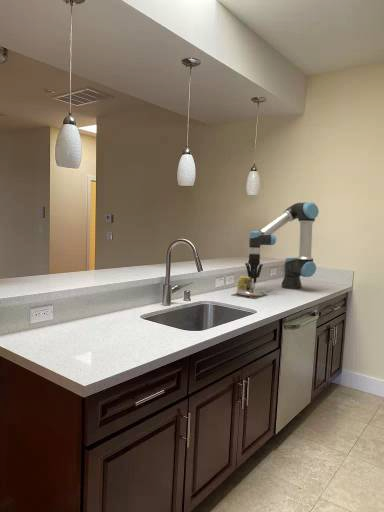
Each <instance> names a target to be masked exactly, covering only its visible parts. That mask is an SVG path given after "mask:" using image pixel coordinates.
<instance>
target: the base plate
mask: <svg viewBox="0 0 384 512" xmlns="http://www.w3.org/2000/svg"><path fill="white" fill-rule="evenodd" d="M268 295H269V294H268V293H267V294H266V293H263V296H257V297H251V296H242V295H238V294H237V292H236V293H233V294H231V296H234V297H240V298H246V299H250V300H257V299H260V298H263V297H267V296H268Z"/></svg>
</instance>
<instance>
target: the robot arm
mask: <svg viewBox="0 0 384 512" xmlns="http://www.w3.org/2000/svg"><path fill="white" fill-rule="evenodd" d="M318 215H319V208H318V206H317V204H316V203H315V202H309V201H306V202H297V203H293V204H292V205H290V206H288V207H287V208H286V209H284V210H283V212H282V214H280V215H279V216H278V217H276V218H275V219H273V220H272V221H270V222H269V223H268V224H266V225H265V226H263V228H261V229H259V230H258V231H257V230H253V231H250V232H249V237H248V239H249V240H248V241H249V245H248V247H249V248H248V253H249V254H248V260H247V261H248V262H246V263H245V264H244V265H245V267H246V272H247V276H248V277H250V278H251V283H252V288H254V289H256V288H255V287H256V283H257V279H258V278H260V277H261V276H260V275H261V271H262V268H263V266H264V264H262V263H261V246H274V245H275V244H276V243H277V237H276V235H275V234H274V233H276V232H277V231H279V229H280V228H281V229H282V227H284V226H285V225H286V224H287V223H289V222H293V221H294V220H297V221H298V223H299V225H300V226H299V244H298V245H299V247H298V250H299V251H298V256H297V257H286V258H285V260H284V261H285V262H284V272H283V273H284V275H283V280H282V282H281V288H284V289H289V290H300V289H302V287H303V284H302V282H301V277H303V278H310V277H313V275H314V274H315V273H316V272H317V265H316V264H315V262H314V258H313V257H312V247H313V246H312V245H313V243H312V242H313V241H312V240H313V224H314V223H315V221H316V219H317V217H318Z"/></svg>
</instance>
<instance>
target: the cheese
mask: <svg viewBox="0 0 384 512" xmlns="http://www.w3.org/2000/svg"><path fill="white" fill-rule="evenodd" d="M247 279H250V287H249V289H255V288H252V283H251V278H250V277H248V275H240V276H239V277H238V280H237V290H238V289H247ZM237 290H236V291H237Z"/></svg>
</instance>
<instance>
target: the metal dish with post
mask: <svg viewBox="0 0 384 512" xmlns="http://www.w3.org/2000/svg"><path fill="white" fill-rule="evenodd" d="M249 287H250V279H247V289H238V290H236V293H237V294H238V295H242V296H251V297H257V296H263V294H265V293H264V290H261V289H257V288H254V289H249ZM263 297H264V296H263Z"/></svg>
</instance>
